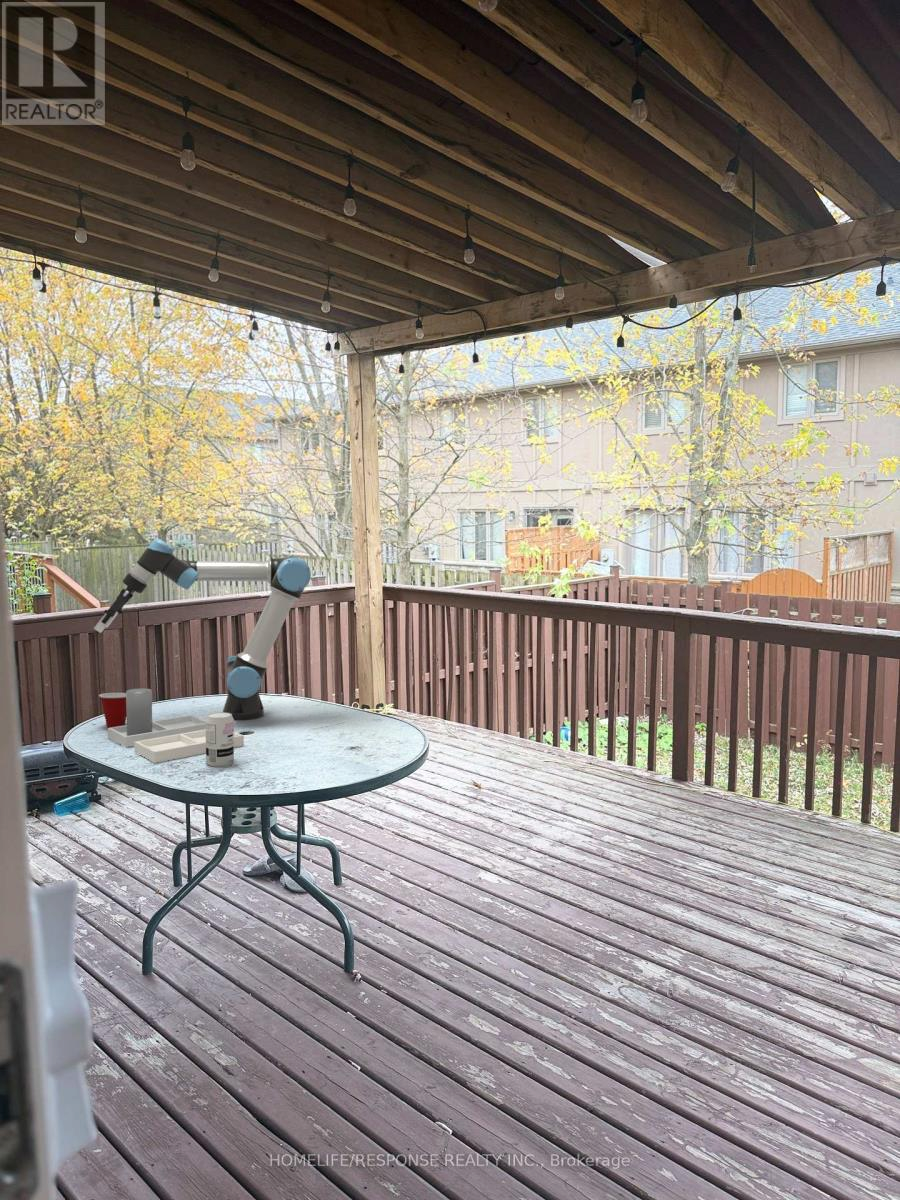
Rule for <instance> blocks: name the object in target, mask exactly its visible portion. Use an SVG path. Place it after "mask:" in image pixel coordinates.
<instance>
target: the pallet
mask: <svg viewBox="0 0 900 1200" xmlns="http://www.w3.org/2000/svg"><path fill="white" fill-rule="evenodd" d="M244 743H245V741H244V734H241V733H239V732H236V731H234V749H235V747H236V748H239V747H244V746H245V745H244ZM133 748H134V752H136V753H138V754H140V755H142V756H143V757H142V756H141V757H142V758H144V757H145V758H144V759H146V758H147V759H149V760H151V761H152V762H151V761H150V762H151V763H153V762H154V763H153V764H158V763H157V762H159V763H163V761H164V762H169V761H172V760H173V759H174V760H178V759H183V758H188V757H189V758H191V757H193V756H194V757H195V756H199V755H204V754H205V755H206V729H205V730H199V731H193V732H188V733H182V734H176V735H170V736H165V737H159V738H153V739H147V740H142V741H136V742H134V746H133ZM136 753H135V754H136ZM138 754H137V755H138ZM140 755H139V756H140ZM147 759H146V760H147ZM149 760H148V761H149ZM168 760H169V761H168Z"/></svg>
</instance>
